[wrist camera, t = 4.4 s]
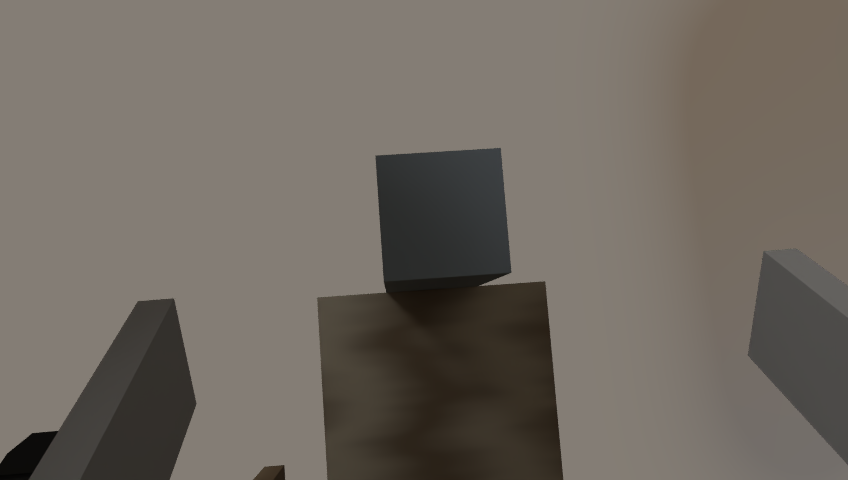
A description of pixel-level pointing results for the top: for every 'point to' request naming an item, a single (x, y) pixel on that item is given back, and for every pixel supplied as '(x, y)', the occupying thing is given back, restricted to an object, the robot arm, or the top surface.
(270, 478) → the rest block
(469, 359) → the stand
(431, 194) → the rod
